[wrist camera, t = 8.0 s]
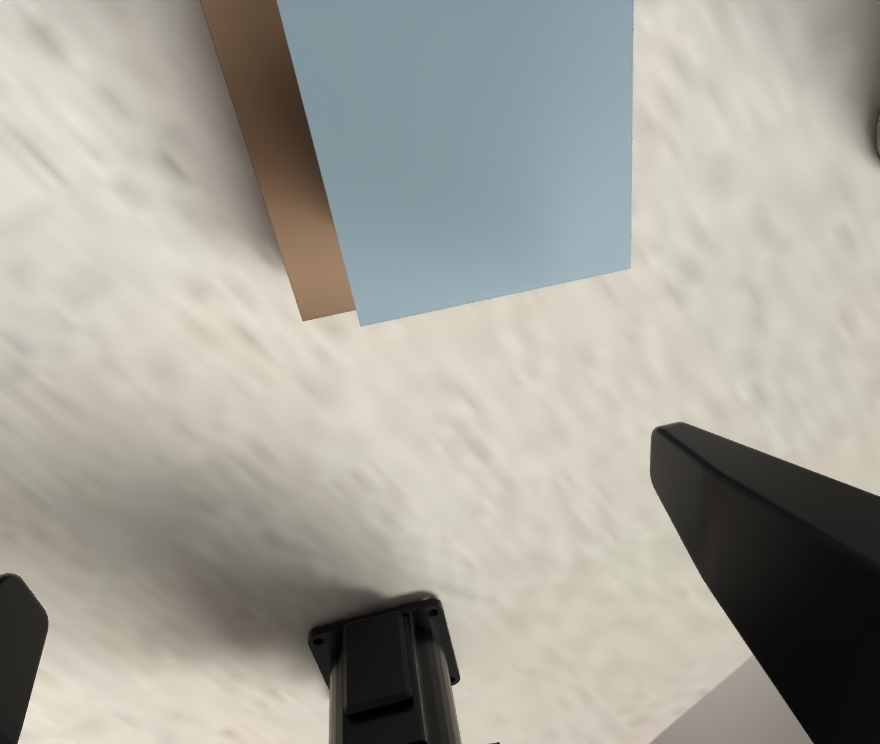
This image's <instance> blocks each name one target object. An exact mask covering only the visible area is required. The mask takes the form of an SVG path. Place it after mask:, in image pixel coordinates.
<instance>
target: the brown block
mask: <svg viewBox="0 0 880 744" xmlns="http://www.w3.org/2000/svg"><path fill="white" fill-rule="evenodd" d="M200 2H201V5H202V8H203V11H204V14H205V18H206V21H207V24H208V27H209V30H210V33H211V36H212V40H213V43H214V46H215V49H216V52H217V55H218V58H219V61H220V65H221V68H222V71H223V74H224V77H225V80H226V83H227V86H228V90H229V93H230V96H231V99H232V102H233V105H234V108H235V111H236V115H237V118H238V121H239V124H240V127H241V130H242V133H243V136H244V140H245V143H246V146H247V149H248V152H249V155H250V158H251V162H252V165H253V168H254V171H255V174H256V177H257V180H258V183H259V187H260V190H261V193H262V196H263V199H264V202H265V205H266V208H267V212H268V215H269V218H270V221H271V224H272V227H273V230H274V233H275V237H276V240H277V243H278V246H279V249H280V252H281V255H282V259H283V262H284V265H285V268H286V271H287V274H288V277H289V280H290V284H291V287H292V290H293V293H294V296H295V299H296V302H297V305H298V309H299V312H300V315H301V318H302V321H307V320H312V319H316V318H321V317H326V316H330V315H335V314H339V313H344V312H349V311H353V310H356V307H355V303H354V299H353V295H352V291H351V287H350V283H349V280H348V276H347V272H346V268H345V264H344V260H343V256H342V252H341V249H340V245H339V241H338V237H337V233H336V229H335V225H334V221H333V217H332V214H331V210H330V206H329V202H328V198H327V194H326V190H325V186H324V183H323V179H322V175H321V171H320V167H319V163H318V159H317V155H316V151H315V148H314V144H313V140H312V136H311V132H310V128H309V124H308V120H307V117H306V113H305V109H304V105H303V101H302V97H301V93H300V89H299V86H298V82H297V78H296V74H295V70H294V66H293V62H292V58H291V54H290V51H289V47H288V43H287V39H286V35H285V31H284V27H283V23H282V20H281V16H280V12H279V8H278V4H277V0H200Z"/></svg>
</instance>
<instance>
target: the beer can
mask: <svg viewBox="0 0 880 744" xmlns="http://www.w3.org/2000/svg"><path fill="white" fill-rule="evenodd" d="M876 147H877V150H878V153H879V157H880V114H879V117H878V121H877V128H876Z"/></svg>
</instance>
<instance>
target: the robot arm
mask: <svg viewBox="0 0 880 744" xmlns="http://www.w3.org/2000/svg"><path fill="white" fill-rule="evenodd" d="M650 477H651V481H652V484H653V487H654V489H655V491H656V493H657V495H658V496H659V498H660V500H661V502H662V504H663V506H664V508H665V510H666V512H667V513H668V515H669V517H670V519H671V521H672V523H673V525H674V527H675V528H676V530H677V532H678V534H679V536H680V538H681V540H682V542H683V544H684V545H685V547H686V549H687V551H688V553H689V555H690V557H691V559H692V561H693V562H694V564H695V566H696V568H697V570H698V571H699V573H700V575H701V577H702V578H703V580H704V582H705V583H706V585H707V586H708V588H709V589H710V591H711V592H712V594H713V595H714V597H715V598H716V600H717V601H718V603H719V604H720V606H721V607H722V609H723V610H724V612H725V613H726V615H727V616H728V618H729V619H730V621H731V622H732V624H733V625H734V627H735V628H736V629H737V631H738V632H739V634H740V635H741V637H742V638H743V640H744V641H745V643H746V644H747V646H748V647H749V649H750V650H751V652H752V653H753V655H754V656H755V658H756V659H757V660H758V662H759V663H760V665H761V666H762V668H763V669H764V671H765V672H766V674H767V675H768V677H769V678H770V680H771V681H772V683H773V684H774V686H775V687H776V689H777V690H778V692H779V693H780V695H781V696H782V698H783V699H784V700H785V702H786V703H787V705H788V706H789V708H790V709H791V711H792V712H793V714H794V715H795V717H796V718H797V720H798V721H799V723H800V724H801V726H802V727H803V729H804V730H805V731H806V733H807V734H808V736H809V737H810V739H811V740H812V742H813V743H814V744H880V496H877V495H874V494H872V493H869V492H866V491H864V490H861V489H858V488H856V487H853V486H850V485H848V484H845V483H843V482H840V481H837V480H835V479H832V478H829V477H827V476H824V475H821V474H819V473H816V472H813V471H811V470H808V469H806V468H803V467H800V466H798V465H795V464H792V463H790V462H787V461H784V460H782V459H779V458H776V457H774V456H771V455H769V454H766V453H763V452H761V451H758V450H755V449H753V448H750V447H747V446H745V445H742V444H739V443H737V442H734V441H732V440H729V439H726V438H724V437H721V436H718V435H716V434H713V433H710V432H708V431H705V430H702V429H700V428H697V427H695V426H692V425H689V424H687V423H683V422H676V423H672V424H667V425H663V426H658V427H656V428H655V429H654V430H653V432H652V435H651V454H650ZM47 632H48V616H47V613H46V611H45V609H44V608H43V607H42V605H41V604H40V602H39V601H38V600H37V598H36V597H35V596H34V594H33V593H32V592H31V590H30V589H29V588H28V586H27V585H26V583H25V582H24V581H23V579H22V578H21V577H20V576H18V575H16V574H13V573H6V574H2V575H0V744H17V743H18V740H19V736H20V733H21V730H22V726H23V722H24V719H25V715H26V711H27V707H28V704H29V700H30V696H31V692H32V688H33V685H34V681H35V677H36V673H37V670H38V666H39V662H40V658H41V654H42V651H43V647H44V643H45V639H46V636H47ZM308 645H309V647H310V649H311V651H312V654H313V656H314V658H315V660H316V662H317V664H318V667H319V669H320V671H321V673H322V675H323V677H324V679H325V682H326V684H327V686H328V688H329V690H330V709H329V744H462V743H461V737H460V732H459V726H458V721H457V715H456V710H455V704H454V699H453V693H452V688H451V686H453V685H455V684H457V683H458V682H459V681H460V674H459V670H458V666H457V662H456V658H455V654H454V650H453V646H452V642H451V638H450V634H449V630H448V626H447V622H446V618H445V614H444V610H443V606H442V603H441V601H439V600H438V599H429V600H425V601H421V602H417V603H413V604H409V605H405V606H401V607H397V608H393V609H389V610H385V611H381V612H377V613H373V614H369V615H365V616H361V617H357V618H353V619H349V620H345V621H341V622H337V623H333V624H329V625H325V626H321V627H317V628H314V629H312V630H311V631H310V632H309V634H308ZM491 744H500V743H499V742H497V743H491Z"/></svg>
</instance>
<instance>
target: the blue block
mask: <svg viewBox="0 0 880 744" xmlns="http://www.w3.org/2000/svg"><path fill="white" fill-rule="evenodd" d="M277 4H278V8H279V12H280V16H281V20H282V23H283V27H284V31H285V35H286V39H287V43H288V47H289V51H290V54H291V58H292V62H293V66H294V70H295V74H296V78H297V82H298V86H299V89H300V93H301V97H302V101H303V105H304V109H305V113H306V117H307V120H308V124H309V128H310V132H311V136H312V140H313V144H314V148H315V151H316V155H317V159H318V163H319V167H320V171H321V175H322V179H323V183H324V186H325V190H326V194H327V198H328V202H329V206H330V210H331V214H332V217H333V221H334V225H335V229H336V233H337V237H338V241H339V245H340V249H341V252H342V256H343V260H344V264H345V268H346V272H347V276H348V280H349V283H350V287H351V291H352V295H353V299H354V303H355V307H356V311H357V315H358V318H359V322H360V326H366V325H370V324H375V323H380V322H384V321H389V320H394V319H398V318H403V317H408V316H412V315H417V314H422V313H426V312H431V311H436V310H440V309H445V308H449V307H454V306H459V305H463V304H468V303H473V302H477V301H482V300H487V299H491V298H496V297H501V296H505V295H510V294H515V293H519V292H524V291H529V290H533V289H538V288H542V287H547V286H552V285H556V284H561V283H566V282H570V281H575V280H580V279H584V278H589V277H594V276H598V275H603V274H608V273H612V272H617V271H622V270H626V269H631V191H632V95H633V0H277Z"/></svg>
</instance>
